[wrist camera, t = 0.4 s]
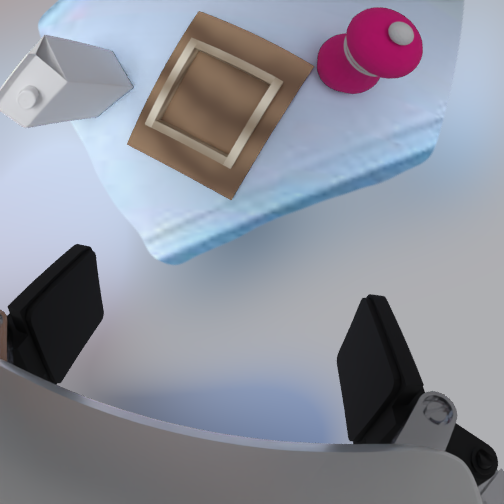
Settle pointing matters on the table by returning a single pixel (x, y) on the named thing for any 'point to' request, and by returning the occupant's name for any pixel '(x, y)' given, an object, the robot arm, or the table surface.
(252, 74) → the stand
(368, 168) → the table surface
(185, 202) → the table surface
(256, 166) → the table surface
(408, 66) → the pepper mill
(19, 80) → the milk carton
